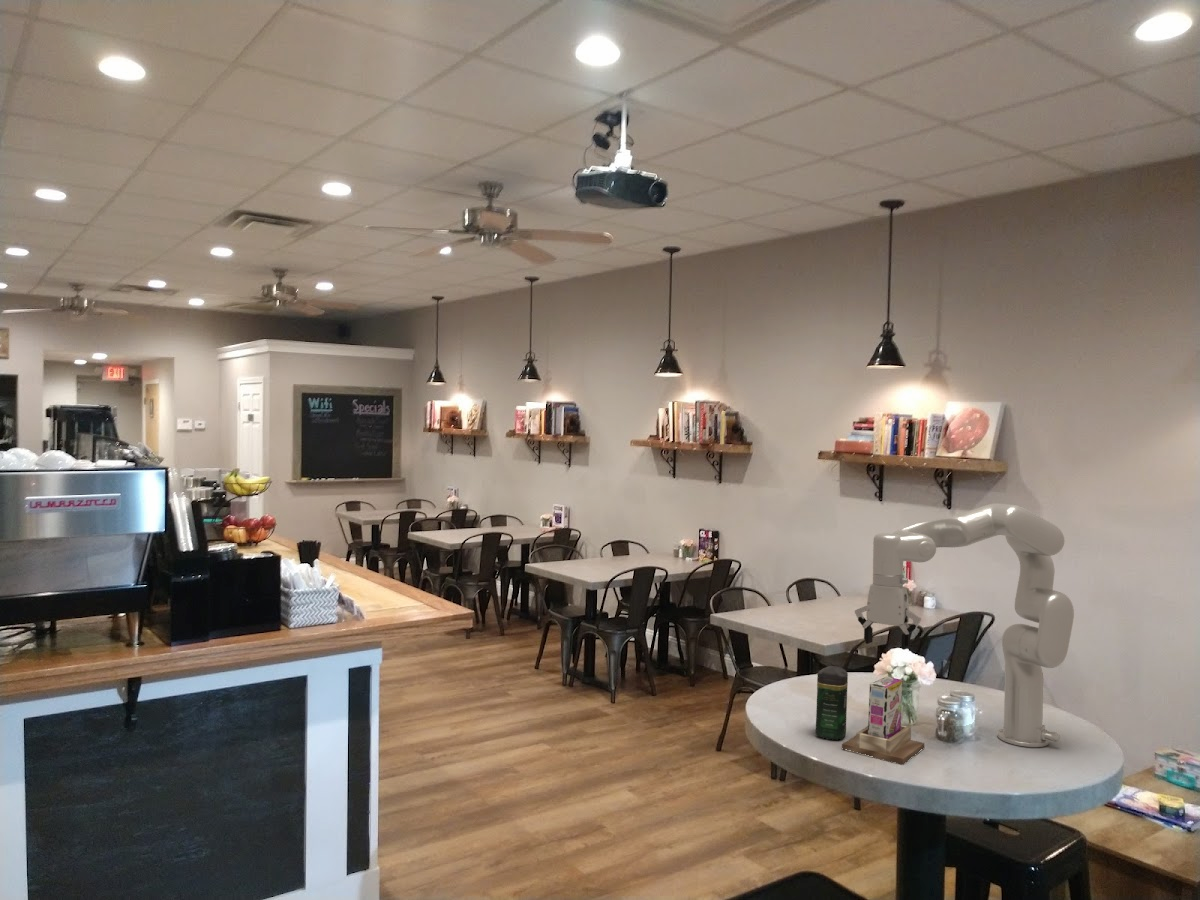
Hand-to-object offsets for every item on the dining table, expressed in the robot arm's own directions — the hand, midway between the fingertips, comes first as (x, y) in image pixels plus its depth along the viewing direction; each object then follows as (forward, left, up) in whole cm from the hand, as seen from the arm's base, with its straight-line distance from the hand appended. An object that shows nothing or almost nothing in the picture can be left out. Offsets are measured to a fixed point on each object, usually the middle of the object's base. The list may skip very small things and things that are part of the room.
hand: (886, 645), depth 229 cm
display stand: (0, 0, -27) cm, 27 cm away
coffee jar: (+15, -1, -28) cm, 31 cm away
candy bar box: (0, 0, -26) cm, 26 cm away
